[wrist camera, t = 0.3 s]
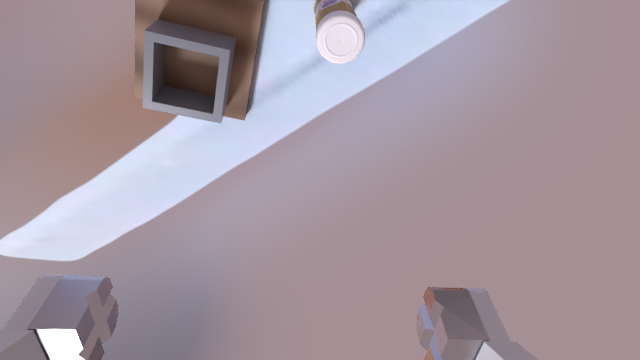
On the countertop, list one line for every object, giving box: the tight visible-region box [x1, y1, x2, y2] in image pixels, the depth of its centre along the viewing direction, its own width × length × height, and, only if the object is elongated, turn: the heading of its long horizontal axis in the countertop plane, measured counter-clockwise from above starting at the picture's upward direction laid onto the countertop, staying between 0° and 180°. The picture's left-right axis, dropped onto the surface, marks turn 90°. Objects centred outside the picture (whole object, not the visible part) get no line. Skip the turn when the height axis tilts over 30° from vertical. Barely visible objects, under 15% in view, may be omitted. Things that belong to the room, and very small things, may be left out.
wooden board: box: [135, 0, 265, 120], centre depth 50 cm, size 20×14×2 cm
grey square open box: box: [143, 19, 236, 123], centre depth 49 cm, size 9×9×5 cm
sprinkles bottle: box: [314, 0, 365, 64], centre depth 44 cm, size 5×5×14 cm
